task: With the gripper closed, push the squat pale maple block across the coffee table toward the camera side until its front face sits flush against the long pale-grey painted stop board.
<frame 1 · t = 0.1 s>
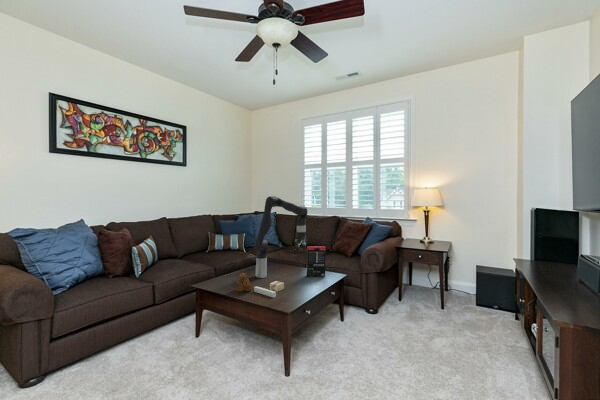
hand: (301, 250, 225), 29 cm above the table, fingers open, 8 cm apart
stuffed squirrel: (244, 290, 218), on the table
graphics card box: (316, 276, 256), on the table
maple block: (276, 289, 220), on the table
stop board: (264, 294, 210), on the table
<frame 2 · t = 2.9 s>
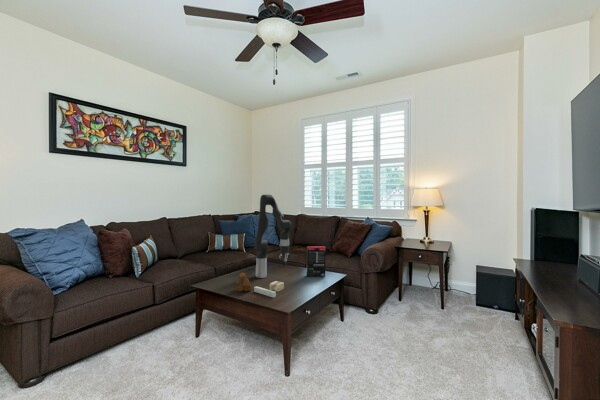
hand: (284, 265, 228), 17 cm above the table, fingers closed
nothing on the table moved.
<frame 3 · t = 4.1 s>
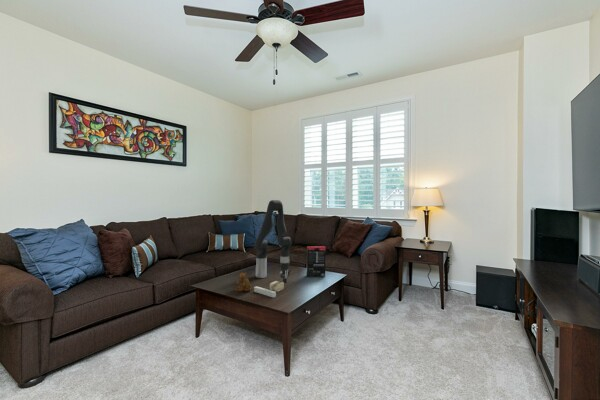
hand: (284, 282, 228), 3 cm above the table, fingers closed
nothing on the table moved.
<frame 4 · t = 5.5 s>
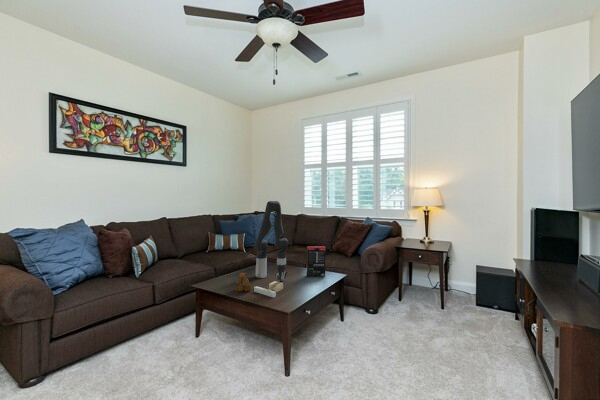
hand: (281, 284, 225), 2 cm above the table, fingers closed
maple block: (276, 289, 220), on the table, touching gripper
everything else where it was.
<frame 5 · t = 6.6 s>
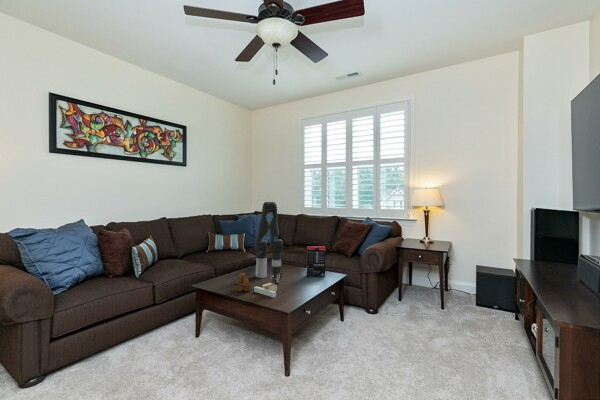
hand: (276, 286, 220), 2 cm above the table, fingers closed
maple block: (269, 291, 216), on the table, touching gripper
everything else where it was.
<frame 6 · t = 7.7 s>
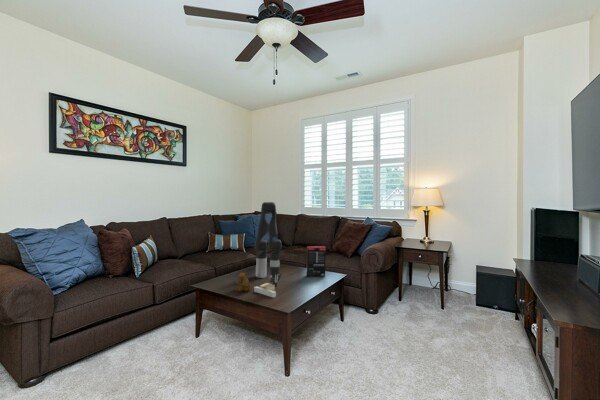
hand: (274, 287, 219), 2 cm above the table, fingers closed
maple block: (267, 291, 215), on the table, touching stop board
everything else where it was.
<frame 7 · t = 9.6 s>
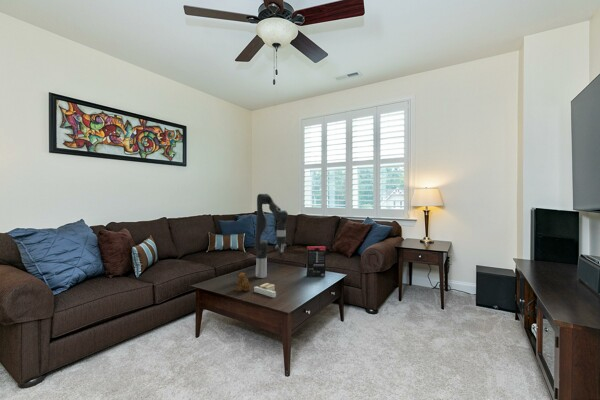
hand: (280, 256, 225), 25 cm above the table, fingers closed
maple block: (267, 291, 216), on the table
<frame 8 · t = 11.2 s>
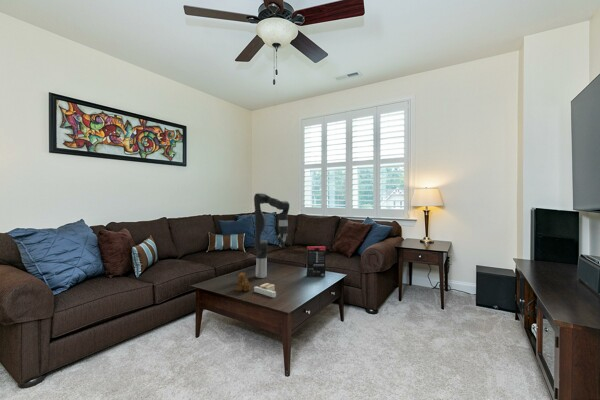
hand: (283, 246, 230), 32 cm above the table, fingers closed
at the end: maple block inside the target area on the table beside the stop board (2.5 cm from its centre), on the table; maple block tilted 0° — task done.
